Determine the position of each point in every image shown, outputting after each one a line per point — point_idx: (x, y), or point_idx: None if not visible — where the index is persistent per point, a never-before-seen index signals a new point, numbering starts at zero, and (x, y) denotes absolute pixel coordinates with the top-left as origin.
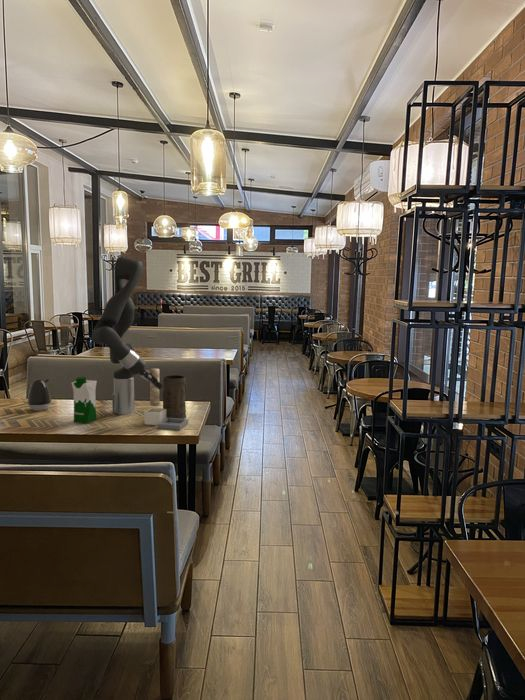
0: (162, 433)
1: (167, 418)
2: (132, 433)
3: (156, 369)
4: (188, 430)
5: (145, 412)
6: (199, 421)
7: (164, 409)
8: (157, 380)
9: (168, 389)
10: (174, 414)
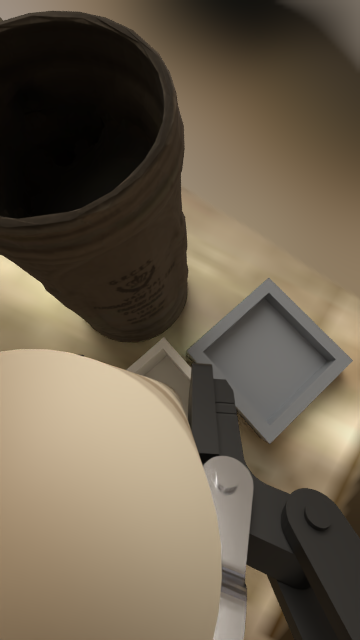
0: (329, 445)
1: (203, 355)
2: (259, 582)
3: (97, 509)
4: (339, 323)
5: None
6: (238, 224)
7: (169, 351)
8: (334, 510)
9: (126, 271)
10: (179, 303)
